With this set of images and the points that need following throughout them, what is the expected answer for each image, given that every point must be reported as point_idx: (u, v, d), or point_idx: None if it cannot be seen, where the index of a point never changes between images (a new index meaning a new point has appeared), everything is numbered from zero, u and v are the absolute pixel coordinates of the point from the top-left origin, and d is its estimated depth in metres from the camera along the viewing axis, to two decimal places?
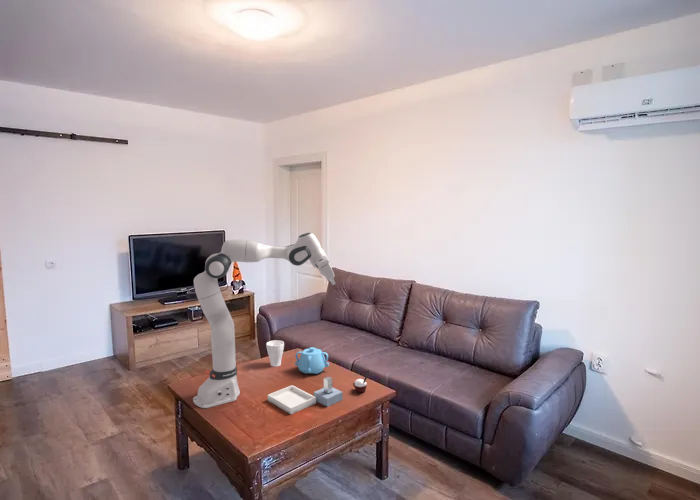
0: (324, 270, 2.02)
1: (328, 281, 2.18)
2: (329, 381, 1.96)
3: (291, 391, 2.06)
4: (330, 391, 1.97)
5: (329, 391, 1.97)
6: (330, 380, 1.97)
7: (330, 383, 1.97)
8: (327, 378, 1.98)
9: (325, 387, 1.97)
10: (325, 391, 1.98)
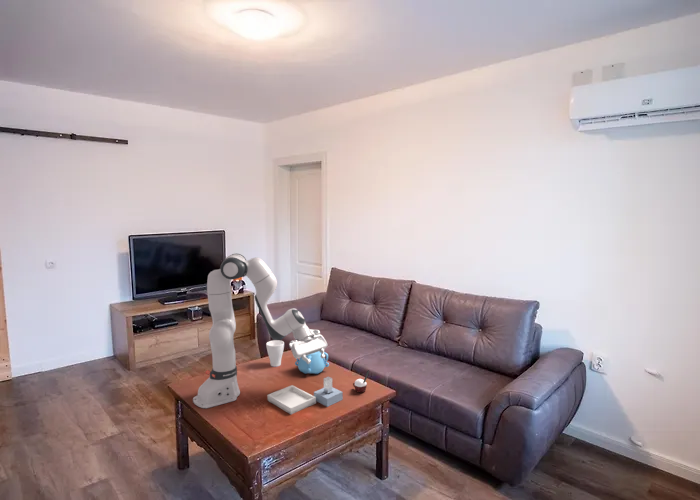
0: None
1: (310, 361, 2.00)
2: (329, 381, 1.96)
3: (291, 391, 2.06)
4: (330, 391, 1.97)
5: (329, 391, 1.97)
6: (330, 380, 1.97)
7: (330, 383, 1.97)
8: (327, 378, 1.98)
9: (325, 387, 1.97)
10: (325, 391, 1.98)
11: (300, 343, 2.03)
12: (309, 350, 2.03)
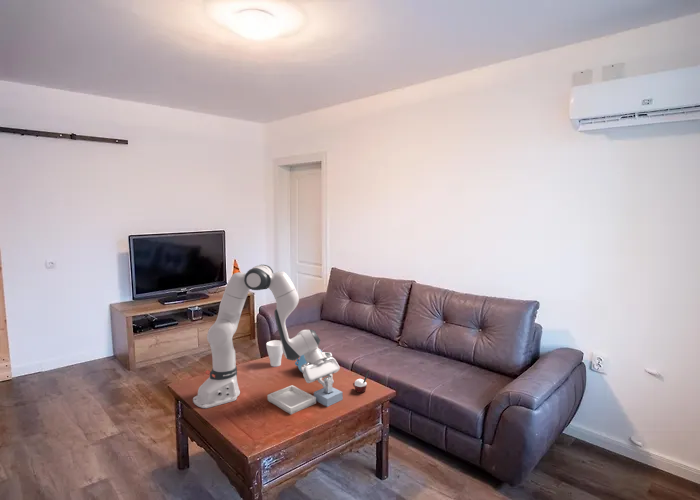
0: None
1: (326, 384, 1.96)
2: (329, 381, 1.96)
3: (291, 391, 2.06)
4: (330, 391, 1.97)
5: (329, 391, 1.97)
6: (330, 380, 1.97)
7: (330, 383, 1.97)
8: (327, 378, 1.98)
9: (325, 387, 1.97)
10: (325, 391, 1.98)
11: (312, 367, 1.97)
12: (321, 374, 1.97)
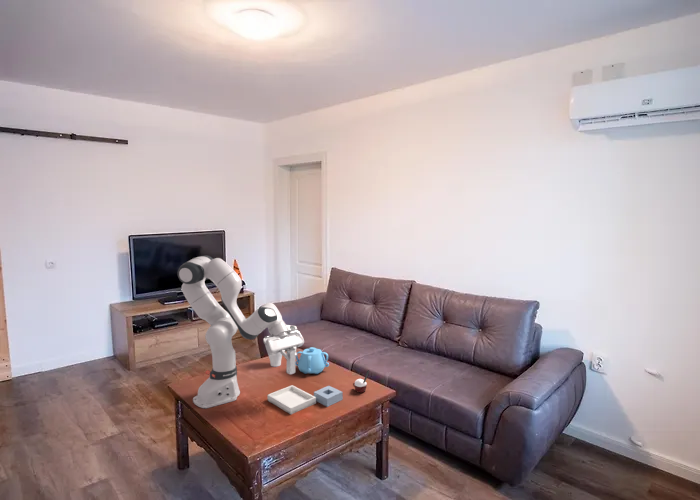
0: None
1: (289, 356, 1.93)
2: (292, 353, 1.93)
3: (291, 391, 2.06)
4: (293, 364, 1.94)
5: (292, 364, 1.94)
6: (293, 352, 1.93)
7: (293, 355, 1.94)
8: (290, 350, 1.94)
9: (288, 359, 1.94)
10: (288, 364, 1.94)
11: (275, 339, 1.94)
12: (284, 346, 1.94)
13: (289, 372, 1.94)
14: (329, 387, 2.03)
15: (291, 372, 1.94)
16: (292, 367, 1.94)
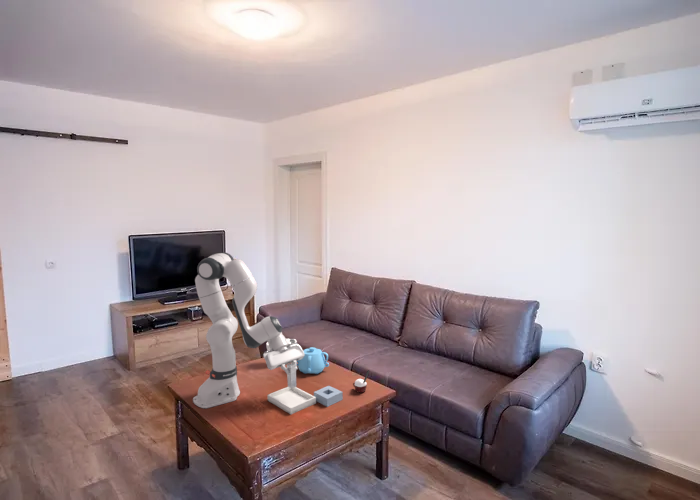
0: None
1: (289, 370, 1.93)
2: (292, 367, 1.93)
3: (291, 391, 2.06)
4: (293, 377, 1.94)
5: (292, 377, 1.94)
6: (293, 366, 1.94)
7: (293, 369, 1.94)
8: (290, 364, 1.94)
9: (288, 373, 1.94)
10: (288, 378, 1.94)
11: (275, 353, 1.94)
12: (284, 361, 1.94)
13: (290, 386, 1.94)
14: (329, 387, 2.03)
15: (292, 386, 1.94)
16: (293, 381, 1.94)
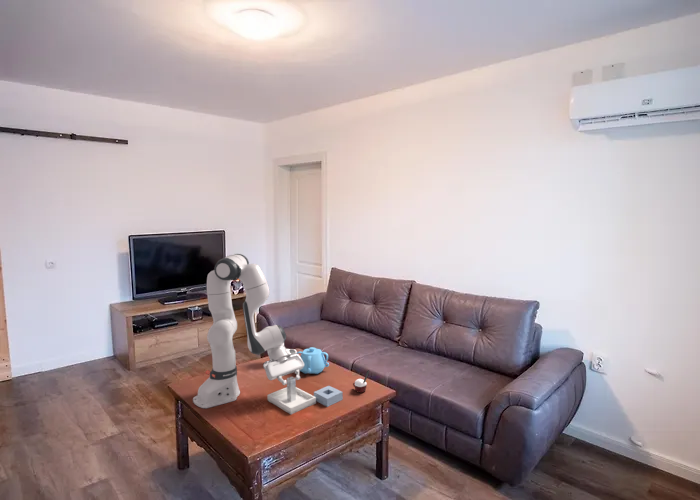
0: None
1: (286, 382, 1.92)
2: (292, 381, 1.94)
3: None
4: (293, 391, 1.95)
5: (292, 391, 1.95)
6: (293, 380, 1.95)
7: (293, 383, 1.95)
8: (290, 378, 1.95)
9: (288, 387, 1.95)
10: (288, 391, 1.95)
11: (275, 364, 1.95)
12: (284, 371, 1.95)
13: (290, 399, 1.95)
14: (329, 387, 2.03)
15: (292, 399, 1.95)
16: (293, 395, 1.95)
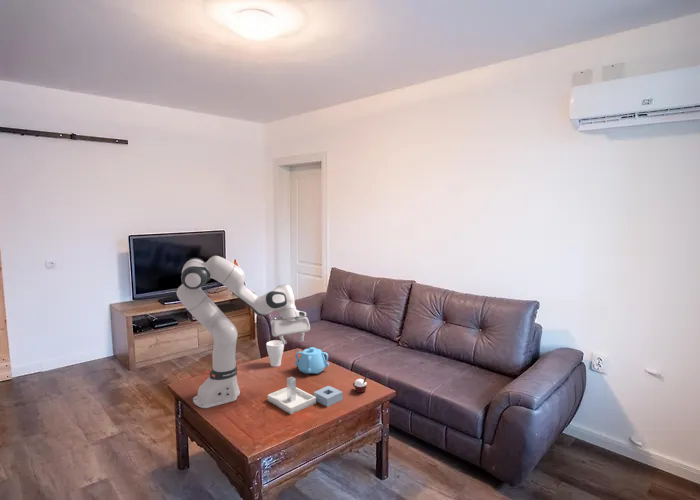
0: None
1: (286, 342, 2.01)
2: (292, 381, 1.94)
3: None
4: (293, 391, 1.95)
5: (292, 391, 1.95)
6: (293, 380, 1.95)
7: (293, 383, 1.95)
8: (290, 378, 1.95)
9: (288, 387, 1.95)
10: (288, 391, 1.95)
11: (281, 322, 2.03)
12: (288, 331, 2.03)
13: (290, 399, 1.95)
14: (329, 387, 2.03)
15: (292, 399, 1.95)
16: (293, 395, 1.95)
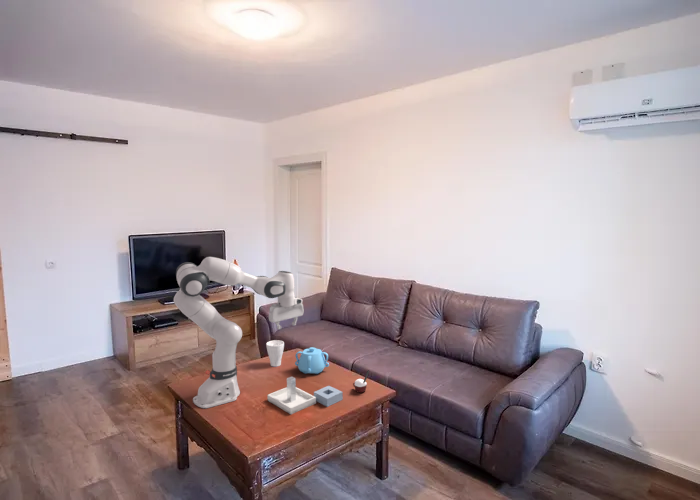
0: None
1: (281, 328, 2.10)
2: (292, 381, 1.94)
3: None
4: (293, 391, 1.95)
5: (292, 391, 1.95)
6: (293, 380, 1.95)
7: (293, 383, 1.95)
8: (290, 378, 1.95)
9: (288, 387, 1.95)
10: (288, 391, 1.95)
11: (280, 310, 2.08)
12: (284, 318, 2.10)
13: (290, 399, 1.95)
14: (329, 387, 2.03)
15: (292, 399, 1.95)
16: (293, 395, 1.95)
